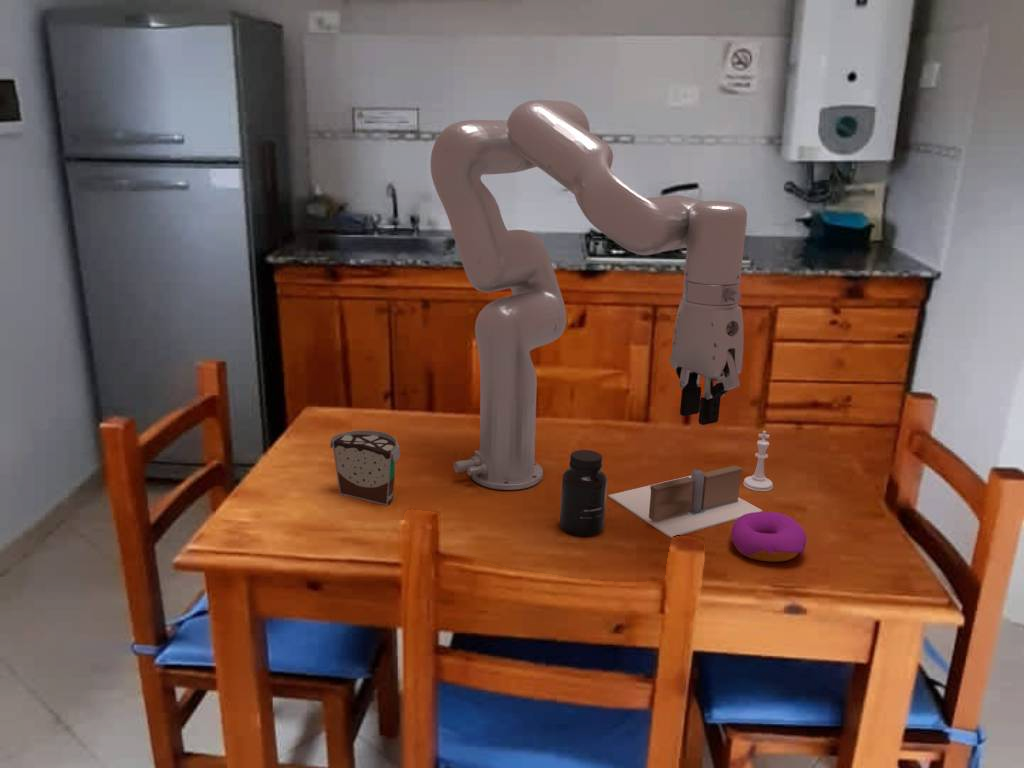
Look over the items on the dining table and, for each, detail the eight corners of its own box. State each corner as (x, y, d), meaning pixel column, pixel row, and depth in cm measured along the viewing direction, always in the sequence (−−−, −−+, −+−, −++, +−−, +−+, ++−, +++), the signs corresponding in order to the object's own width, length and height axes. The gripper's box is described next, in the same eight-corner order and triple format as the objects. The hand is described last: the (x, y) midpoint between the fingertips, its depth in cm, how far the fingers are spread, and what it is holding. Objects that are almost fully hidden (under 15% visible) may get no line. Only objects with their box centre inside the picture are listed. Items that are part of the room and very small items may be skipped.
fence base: (670, 538, 127) (674, 495, 125) (608, 496, 140) (610, 457, 138) (762, 512, 136) (767, 472, 134) (695, 475, 149) (699, 438, 147)
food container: (415, 493, 140) (414, 436, 137) (395, 507, 135) (394, 449, 132) (353, 478, 145) (351, 424, 142) (332, 492, 140) (329, 436, 136)
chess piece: (773, 492, 143) (781, 438, 140) (744, 489, 144) (750, 435, 141) (771, 481, 148) (778, 427, 145) (742, 478, 149) (748, 425, 146)
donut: (734, 528, 131) (737, 500, 130) (805, 540, 127) (809, 512, 126) (725, 560, 121) (728, 530, 120) (802, 575, 118) (806, 544, 116)
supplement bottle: (591, 542, 125) (595, 468, 122) (551, 530, 129) (554, 457, 125) (611, 524, 131) (616, 453, 127) (572, 513, 134) (576, 443, 131)
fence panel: (685, 507, 135) (687, 476, 134) (691, 511, 134) (694, 480, 132) (647, 517, 132) (650, 485, 130) (654, 521, 130) (657, 489, 129)
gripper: (775, 302, 111) (759, 433, 117) (691, 280, 125) (681, 398, 130) (732, 307, 107) (718, 442, 113) (651, 284, 121) (642, 405, 127)
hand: (698, 417), depth 122 cm, fingers open, 3 cm apart
